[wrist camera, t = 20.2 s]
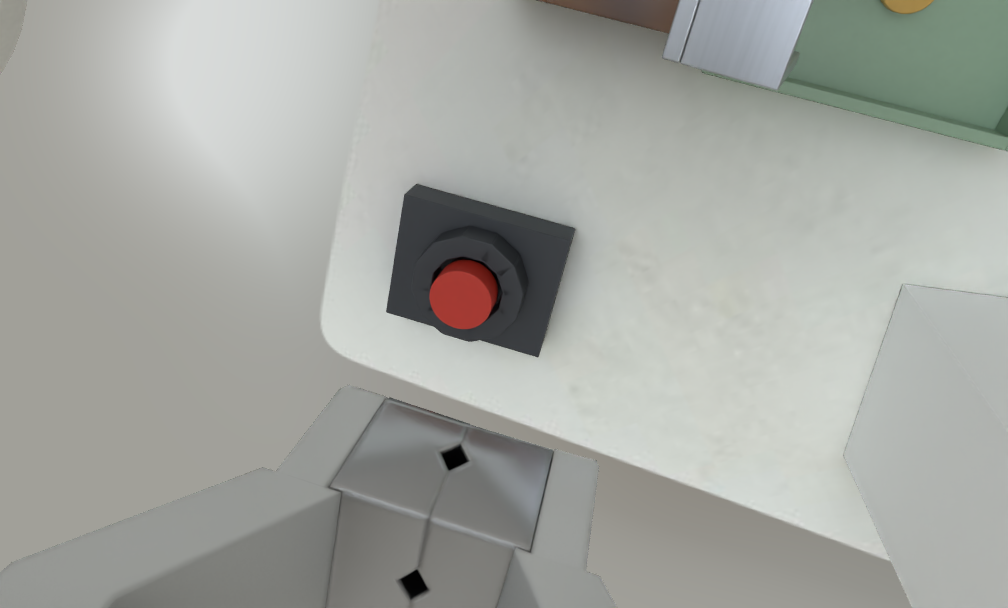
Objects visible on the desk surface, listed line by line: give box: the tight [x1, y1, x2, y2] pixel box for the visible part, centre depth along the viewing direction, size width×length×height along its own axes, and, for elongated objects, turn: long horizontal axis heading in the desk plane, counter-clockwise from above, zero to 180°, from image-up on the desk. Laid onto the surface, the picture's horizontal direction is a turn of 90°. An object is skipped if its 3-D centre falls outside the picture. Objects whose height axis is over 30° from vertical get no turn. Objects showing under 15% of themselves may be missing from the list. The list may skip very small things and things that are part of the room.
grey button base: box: [386, 184, 575, 357], centre depth 42 cm, size 10×8×4 cm
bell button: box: [429, 260, 498, 329], centre depth 40 cm, size 4×4×2 cm
